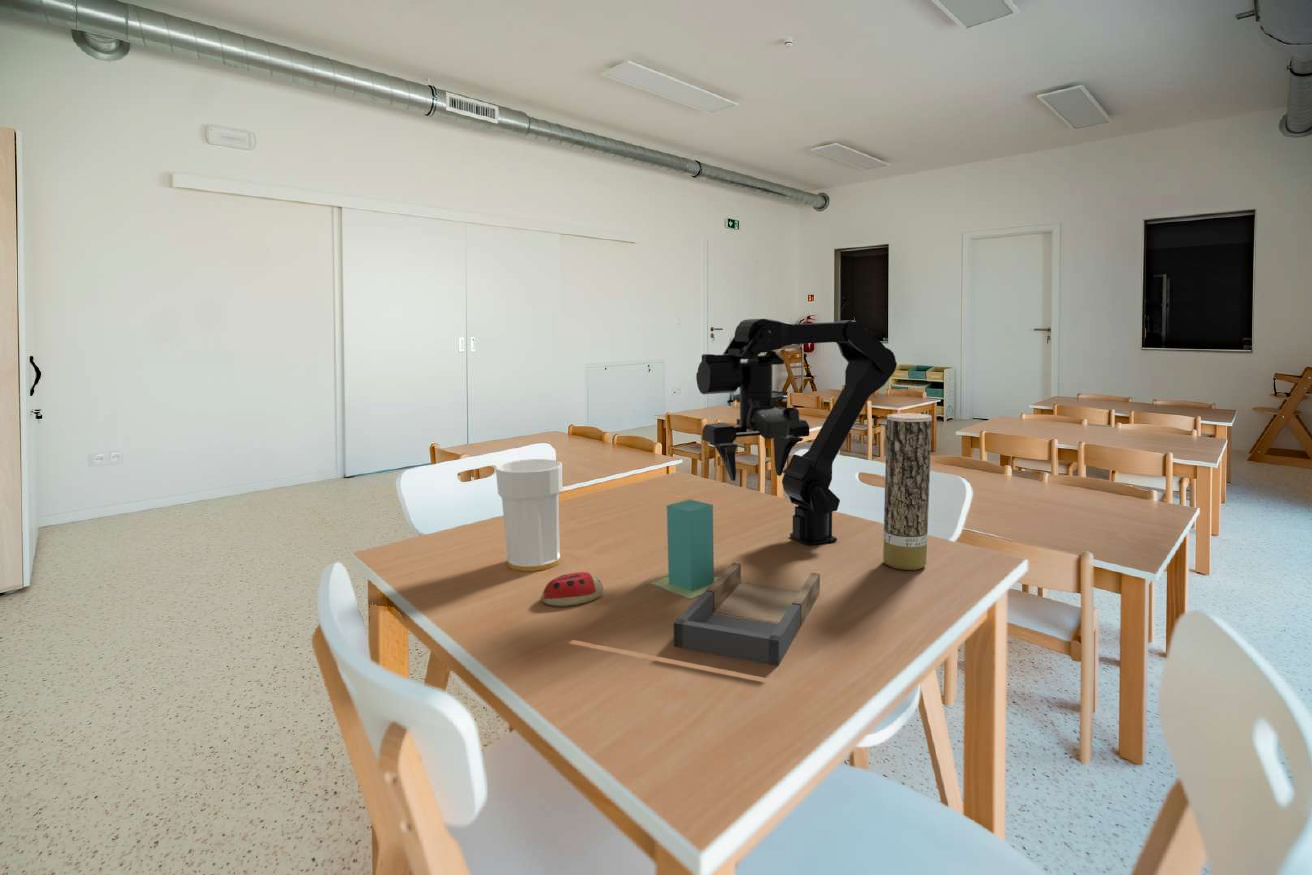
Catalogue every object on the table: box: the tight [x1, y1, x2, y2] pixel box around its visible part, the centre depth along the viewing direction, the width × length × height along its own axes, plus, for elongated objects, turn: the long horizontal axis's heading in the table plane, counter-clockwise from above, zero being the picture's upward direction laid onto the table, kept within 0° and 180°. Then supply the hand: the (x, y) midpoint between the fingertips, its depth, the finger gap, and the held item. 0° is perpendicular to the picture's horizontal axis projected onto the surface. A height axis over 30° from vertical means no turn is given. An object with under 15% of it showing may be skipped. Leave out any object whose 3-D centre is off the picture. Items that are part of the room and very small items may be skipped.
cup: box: [495, 458, 563, 572], centre depth 118 cm, size 11×11×17 cm
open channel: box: [706, 562, 821, 628], centre depth 98 cm, size 12×13×4 cm
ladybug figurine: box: [540, 571, 605, 607], centre depth 103 cm, size 7×10×4 cm
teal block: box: [666, 499, 715, 591], centre depth 105 cm, size 5×5×12 cm
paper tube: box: [882, 412, 933, 571], centre depth 111 cm, size 7×7×25 cm
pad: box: [650, 575, 719, 600], centre depth 106 cm, size 9×9×1 cm
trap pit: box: [673, 591, 801, 667], centre depth 87 cm, size 11×13×4 cm
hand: (756, 477), depth 122 cm, fingers open, 9 cm apart
